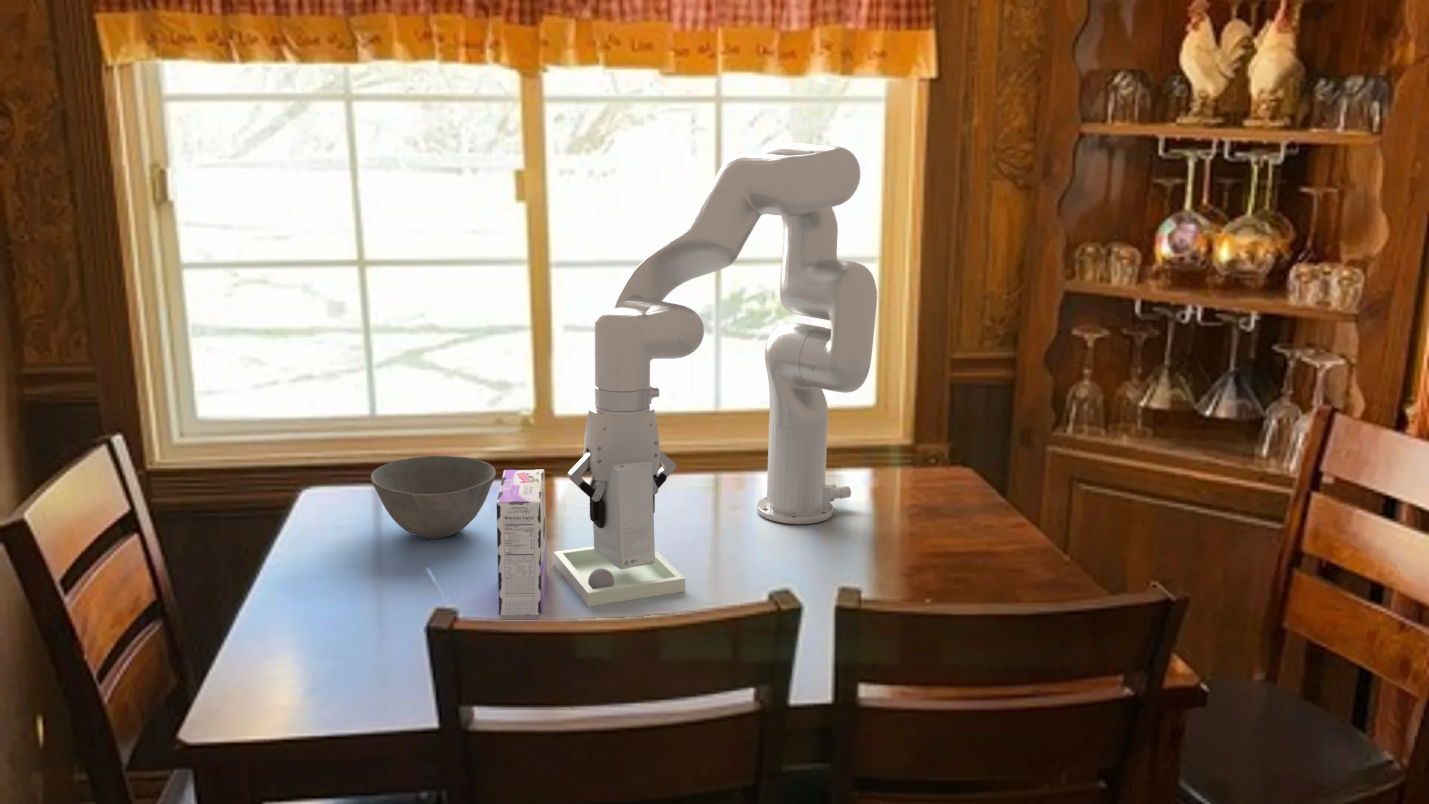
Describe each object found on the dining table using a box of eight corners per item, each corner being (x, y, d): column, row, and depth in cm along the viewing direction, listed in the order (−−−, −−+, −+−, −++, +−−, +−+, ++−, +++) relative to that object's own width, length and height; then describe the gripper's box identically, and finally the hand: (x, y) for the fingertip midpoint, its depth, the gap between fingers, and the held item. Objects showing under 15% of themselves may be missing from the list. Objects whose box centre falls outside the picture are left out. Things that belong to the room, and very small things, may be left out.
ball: (609, 586, 170) (609, 563, 169) (617, 596, 167) (617, 572, 166) (585, 590, 169) (584, 566, 168) (593, 599, 166) (592, 575, 165)
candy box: (506, 579, 174) (503, 468, 170) (547, 578, 174) (546, 467, 170) (497, 620, 161) (494, 500, 156) (542, 619, 161) (540, 500, 157)
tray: (644, 555, 184) (644, 539, 183) (685, 595, 169) (685, 578, 169) (554, 567, 178) (553, 551, 177) (588, 610, 164) (588, 593, 163)
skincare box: (655, 564, 173) (657, 462, 169) (618, 572, 169) (618, 469, 166) (626, 545, 179) (627, 447, 176) (589, 552, 176) (589, 453, 172)
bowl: (370, 559, 180) (366, 495, 177) (377, 516, 198) (374, 457, 195) (499, 552, 184) (498, 489, 181) (495, 510, 201) (493, 452, 199)
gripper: (671, 387, 175) (669, 506, 180) (553, 397, 168) (555, 520, 173) (691, 400, 169) (689, 523, 173) (570, 410, 162) (571, 538, 166)
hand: (622, 520), depth 173 cm, fingers closed on skincare box, 6 cm apart
